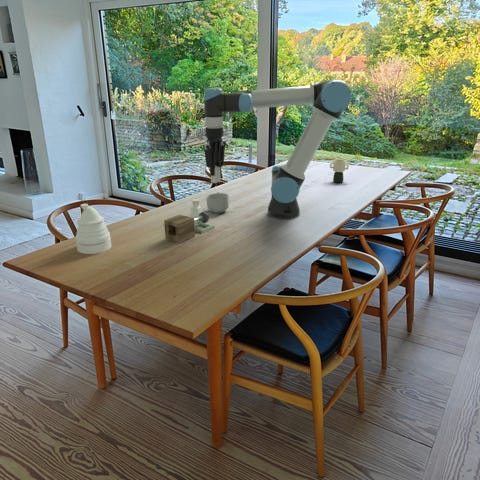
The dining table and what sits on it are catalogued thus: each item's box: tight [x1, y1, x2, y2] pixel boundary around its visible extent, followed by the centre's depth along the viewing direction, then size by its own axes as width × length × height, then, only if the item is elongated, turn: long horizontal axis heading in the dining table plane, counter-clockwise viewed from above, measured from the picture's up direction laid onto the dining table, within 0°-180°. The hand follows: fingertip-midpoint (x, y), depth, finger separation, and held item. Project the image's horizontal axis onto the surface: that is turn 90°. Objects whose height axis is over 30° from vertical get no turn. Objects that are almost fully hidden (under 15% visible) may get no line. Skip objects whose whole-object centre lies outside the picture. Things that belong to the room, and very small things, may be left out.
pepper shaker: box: [190, 198, 203, 218], centre depth 205 cm, size 4×4×10 cm
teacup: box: [205, 191, 230, 214], centre depth 218 cm, size 14×11×8 cm
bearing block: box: [163, 214, 196, 244], centre depth 184 cm, size 8×9×8 cm
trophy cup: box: [329, 158, 350, 183], centre depth 269 cm, size 11×7×13 cm, turn 64°
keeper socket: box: [194, 222, 215, 234], centre depth 195 cm, size 8×8×1 cm
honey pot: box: [75, 203, 112, 255], centre depth 173 cm, size 13×13×18 cm
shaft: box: [194, 211, 210, 225], centre depth 191 cm, size 5×14×5 cm, turn 145°
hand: (215, 181), depth 197 cm, fingers open, 2 cm apart
